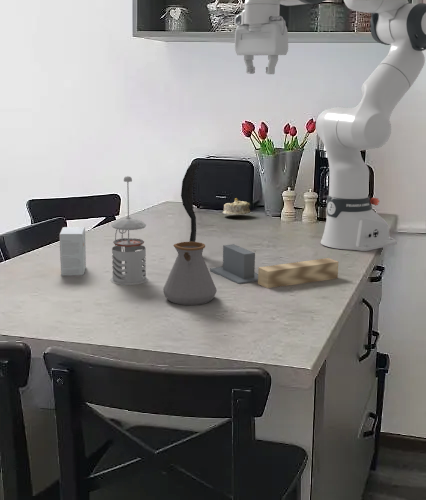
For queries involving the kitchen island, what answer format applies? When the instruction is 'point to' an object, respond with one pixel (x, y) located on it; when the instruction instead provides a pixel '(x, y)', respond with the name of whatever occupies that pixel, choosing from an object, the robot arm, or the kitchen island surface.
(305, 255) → the kitchen island surface
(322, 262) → the oak bar
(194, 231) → the black curved piece
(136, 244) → the french press
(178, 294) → the coffee pot
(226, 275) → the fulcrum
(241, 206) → the cake
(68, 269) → the small box
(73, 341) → the kitchen island surface
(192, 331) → the kitchen island surface
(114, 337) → the kitchen island surface
